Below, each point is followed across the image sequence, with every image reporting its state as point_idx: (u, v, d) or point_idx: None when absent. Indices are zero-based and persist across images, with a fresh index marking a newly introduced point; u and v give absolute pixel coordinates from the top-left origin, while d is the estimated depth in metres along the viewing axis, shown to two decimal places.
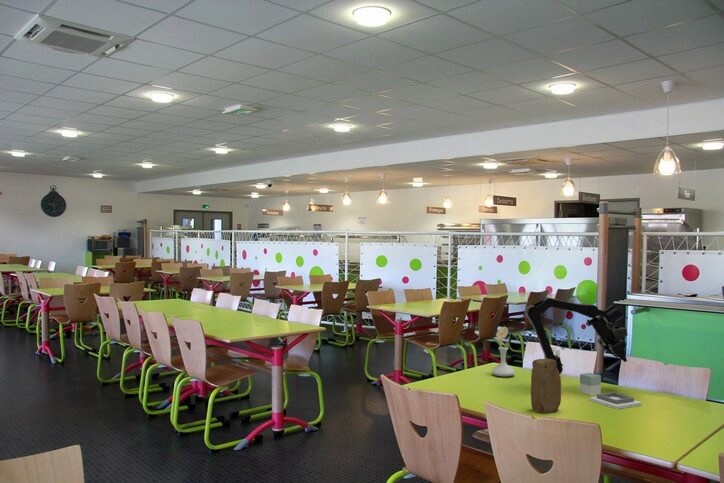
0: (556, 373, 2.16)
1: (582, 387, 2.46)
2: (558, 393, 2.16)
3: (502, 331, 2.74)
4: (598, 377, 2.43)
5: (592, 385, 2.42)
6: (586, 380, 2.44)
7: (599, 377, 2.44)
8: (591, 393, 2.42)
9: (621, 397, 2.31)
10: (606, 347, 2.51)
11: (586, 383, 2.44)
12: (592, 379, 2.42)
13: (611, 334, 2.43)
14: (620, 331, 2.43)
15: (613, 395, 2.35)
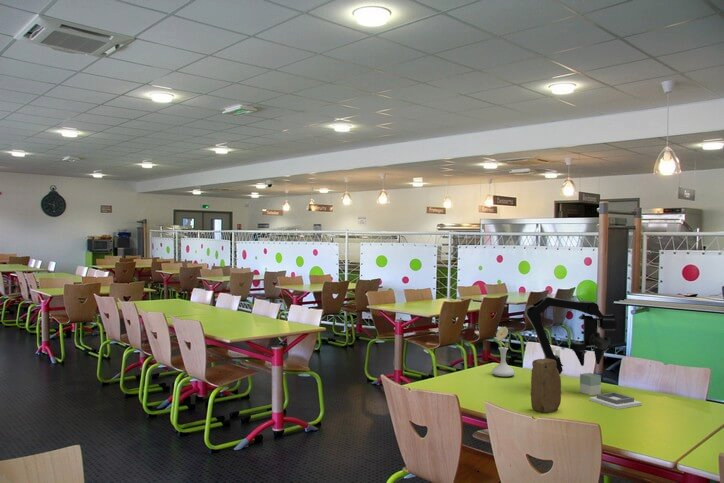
0: (556, 373, 2.16)
1: (582, 387, 2.46)
2: (558, 393, 2.16)
3: (502, 331, 2.74)
4: (598, 377, 2.43)
5: (592, 385, 2.42)
6: (586, 380, 2.44)
7: (599, 377, 2.44)
8: (591, 393, 2.42)
9: (621, 397, 2.31)
10: (595, 349, 2.49)
11: (586, 383, 2.44)
12: (592, 379, 2.42)
13: (589, 337, 2.43)
14: (596, 341, 2.40)
15: (613, 395, 2.35)
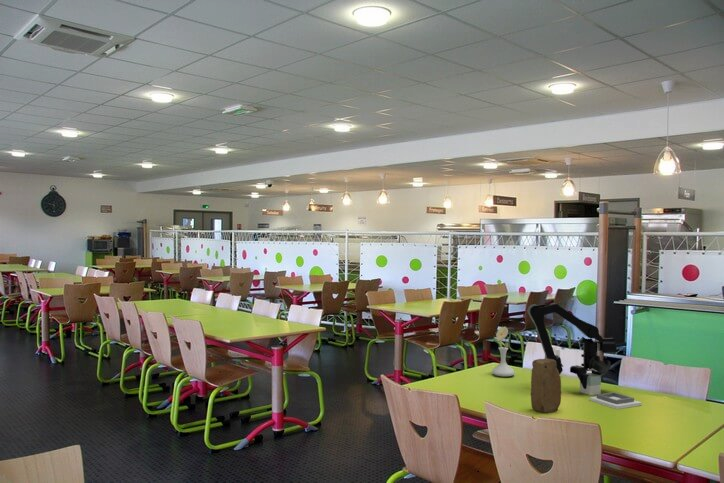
0: (556, 373, 2.16)
1: (582, 387, 2.46)
2: (558, 393, 2.16)
3: (502, 331, 2.74)
4: (598, 377, 2.43)
5: (592, 385, 2.42)
6: None
7: (599, 377, 2.44)
8: (591, 393, 2.42)
9: (621, 397, 2.31)
10: (593, 372, 2.49)
11: None
12: (592, 379, 2.42)
13: (589, 361, 2.43)
14: (596, 365, 2.39)
15: (613, 395, 2.35)
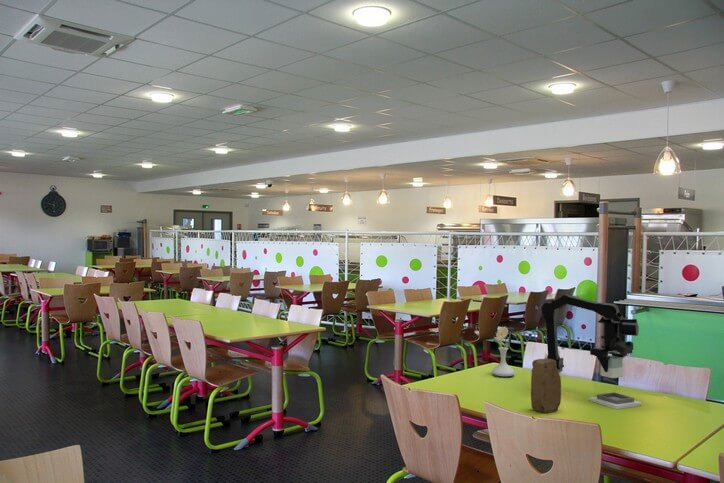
0: (556, 373, 2.16)
1: (603, 370, 2.33)
2: (558, 393, 2.16)
3: (502, 331, 2.74)
4: (620, 359, 2.31)
5: (614, 367, 2.29)
6: None
7: (621, 359, 2.31)
8: (613, 376, 2.29)
9: (621, 397, 2.31)
10: (613, 354, 2.36)
11: None
12: (613, 361, 2.29)
13: (610, 342, 2.30)
14: (618, 346, 2.27)
15: (613, 395, 2.35)
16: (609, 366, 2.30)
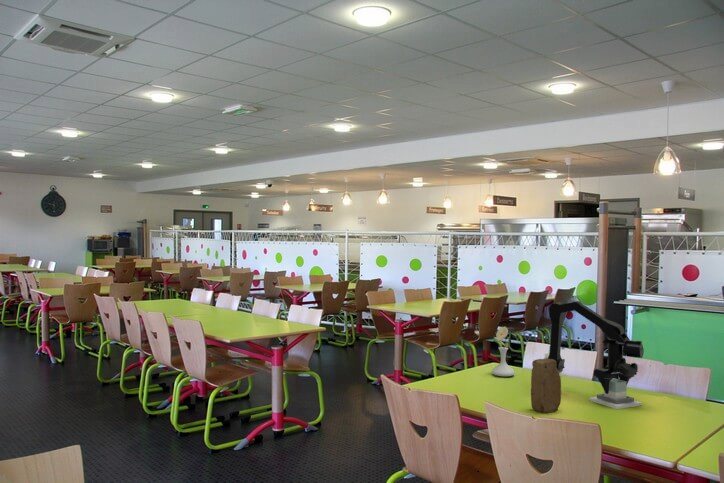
0: (556, 373, 2.16)
1: (606, 394, 2.30)
2: (558, 393, 2.16)
3: (502, 331, 2.74)
4: (624, 383, 2.28)
5: (617, 392, 2.26)
6: (610, 386, 2.28)
7: (625, 383, 2.28)
8: None
9: None
10: (620, 375, 2.33)
11: (611, 389, 2.28)
12: (617, 385, 2.26)
13: (614, 363, 2.27)
14: (622, 368, 2.24)
15: None
16: (613, 390, 2.27)
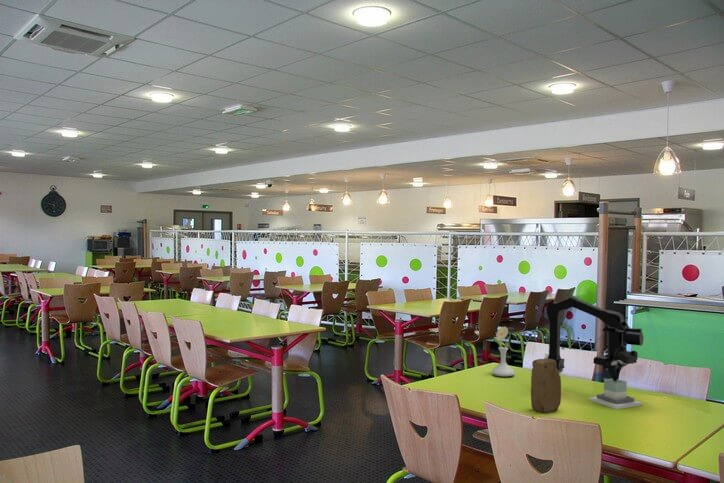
0: (556, 373, 2.16)
1: (606, 394, 2.30)
2: (558, 393, 2.16)
3: (502, 331, 2.74)
4: (624, 383, 2.28)
5: (617, 392, 2.26)
6: (610, 386, 2.28)
7: (625, 383, 2.28)
8: None
9: None
10: None
11: (611, 389, 2.28)
12: (617, 385, 2.26)
13: (614, 351, 2.27)
14: (622, 355, 2.24)
15: None
16: (613, 390, 2.27)
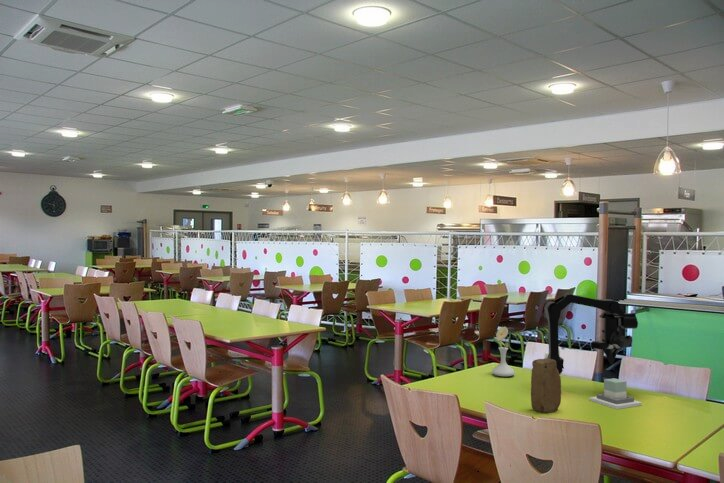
0: (556, 373, 2.16)
1: (606, 394, 2.30)
2: (558, 393, 2.16)
3: (502, 331, 2.74)
4: (624, 383, 2.28)
5: (617, 392, 2.26)
6: (610, 386, 2.28)
7: (625, 383, 2.28)
8: None
9: None
10: None
11: (611, 389, 2.28)
12: (617, 385, 2.26)
13: (610, 336, 2.43)
14: (617, 339, 2.39)
15: None
16: (613, 390, 2.27)
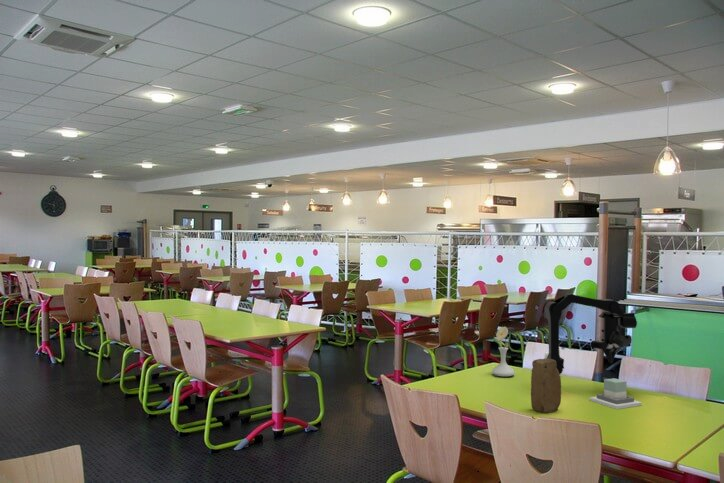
0: (556, 373, 2.16)
1: (606, 394, 2.30)
2: (558, 393, 2.16)
3: (502, 331, 2.74)
4: (624, 383, 2.28)
5: (617, 392, 2.26)
6: (610, 386, 2.28)
7: (625, 383, 2.28)
8: None
9: None
10: None
11: (611, 389, 2.28)
12: (617, 385, 2.26)
13: (609, 336, 2.44)
14: (617, 339, 2.40)
15: None
16: (613, 390, 2.27)
